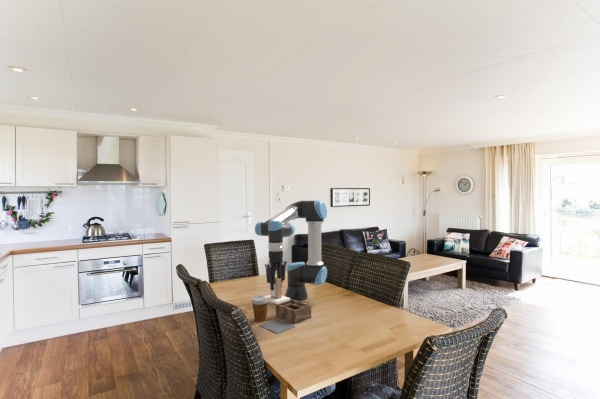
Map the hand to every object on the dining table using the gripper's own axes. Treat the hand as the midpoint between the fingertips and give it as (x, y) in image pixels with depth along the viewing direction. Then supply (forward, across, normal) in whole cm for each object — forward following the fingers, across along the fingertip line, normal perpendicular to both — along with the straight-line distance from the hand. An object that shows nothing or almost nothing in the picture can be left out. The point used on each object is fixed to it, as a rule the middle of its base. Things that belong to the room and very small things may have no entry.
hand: (276, 295), depth 173 cm
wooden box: (+16, +15, +3) cm, 23 cm away
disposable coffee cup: (+17, 0, +14) cm, 22 cm away
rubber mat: (+17, 0, 0) cm, 17 cm away
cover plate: (+2, 0, 0) cm, 2 cm away
